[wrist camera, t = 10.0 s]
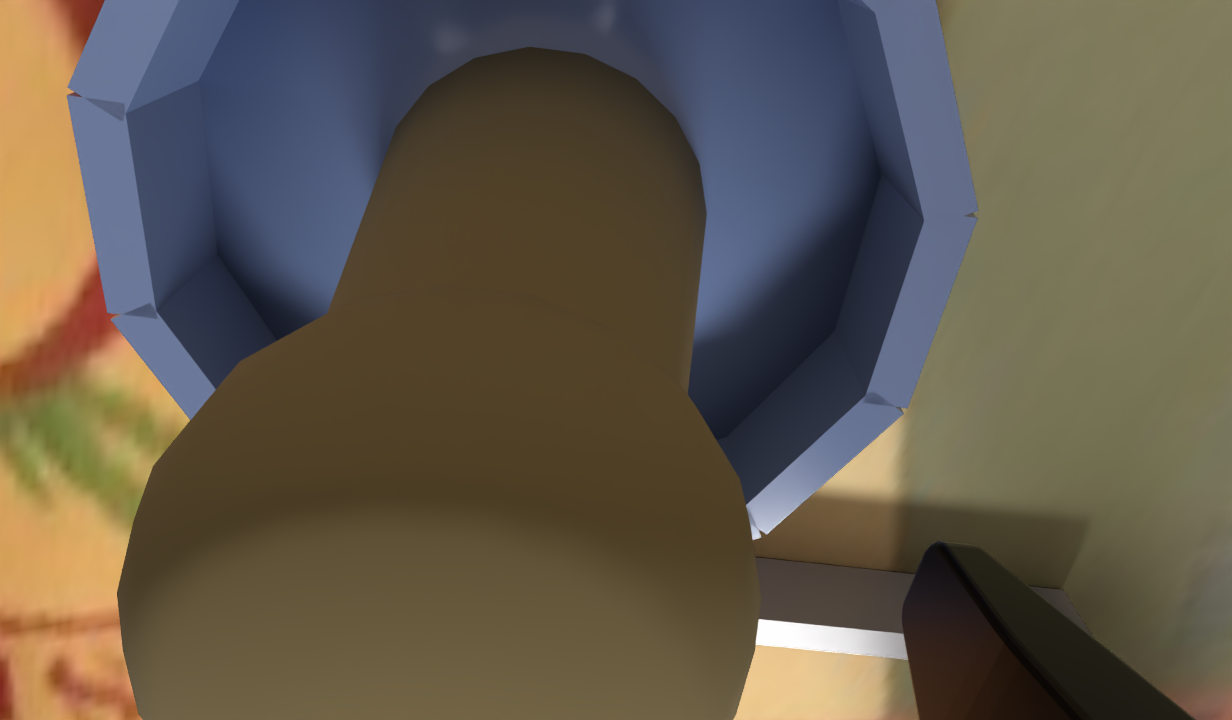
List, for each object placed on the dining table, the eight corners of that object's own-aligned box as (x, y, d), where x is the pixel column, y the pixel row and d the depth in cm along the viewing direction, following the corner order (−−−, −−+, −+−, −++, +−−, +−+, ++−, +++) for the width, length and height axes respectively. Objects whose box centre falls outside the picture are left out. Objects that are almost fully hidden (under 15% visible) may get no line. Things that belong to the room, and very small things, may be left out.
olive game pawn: (406, 365, 17) (128, 988, 7) (349, 53, 14) (-250, 411, 4) (703, 357, 17) (818, 978, 7) (710, 39, 14) (920, 379, 4)
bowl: (1018, -154, 13) (1118, -166, 10) (803, 516, 20) (831, 613, 17) (121, -302, 12) (-19, -355, 9) (215, 452, 19) (150, 543, 16)
